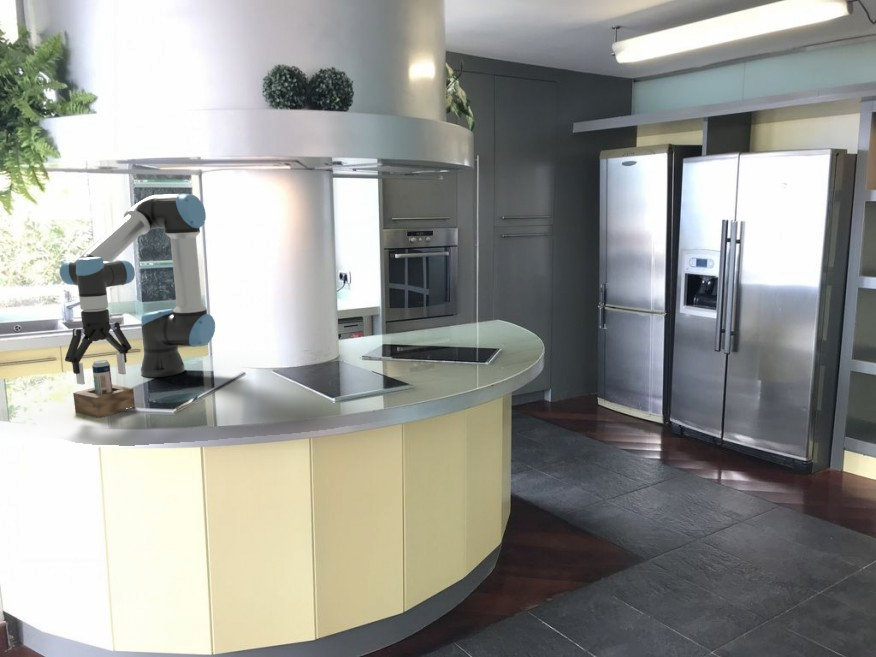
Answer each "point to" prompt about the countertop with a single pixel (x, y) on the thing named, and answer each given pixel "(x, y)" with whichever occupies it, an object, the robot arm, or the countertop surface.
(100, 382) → the beer can
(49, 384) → the countertop surface
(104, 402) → the wooden box
